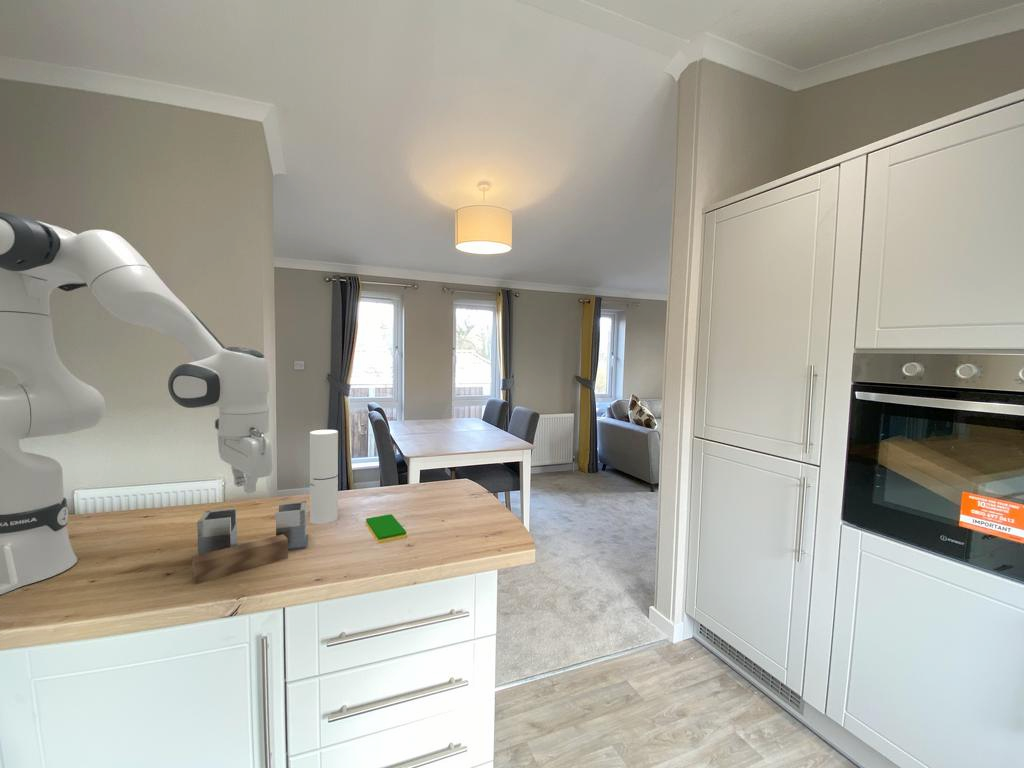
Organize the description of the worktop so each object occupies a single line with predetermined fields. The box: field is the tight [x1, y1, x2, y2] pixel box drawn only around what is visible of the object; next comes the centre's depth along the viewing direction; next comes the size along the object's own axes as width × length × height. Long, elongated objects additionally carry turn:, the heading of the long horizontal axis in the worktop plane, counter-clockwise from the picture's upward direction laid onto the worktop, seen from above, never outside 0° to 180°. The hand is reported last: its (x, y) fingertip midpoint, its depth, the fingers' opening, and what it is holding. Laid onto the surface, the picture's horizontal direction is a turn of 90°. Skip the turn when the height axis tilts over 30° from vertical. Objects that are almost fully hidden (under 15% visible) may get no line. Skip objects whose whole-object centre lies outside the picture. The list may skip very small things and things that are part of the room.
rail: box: [191, 534, 289, 585], centre depth 91 cm, size 17×3×5 cm, turn 134°
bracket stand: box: [196, 500, 310, 555], centre depth 99 cm, size 22×7×10 cm, turn 113°
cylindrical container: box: [309, 429, 339, 525], centre depth 118 cm, size 7×7×25 cm
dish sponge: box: [365, 513, 407, 544], centre depth 112 cm, size 7×14×2 cm, turn 32°
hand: (244, 488), depth 90 cm, fingers open, 4 cm apart
